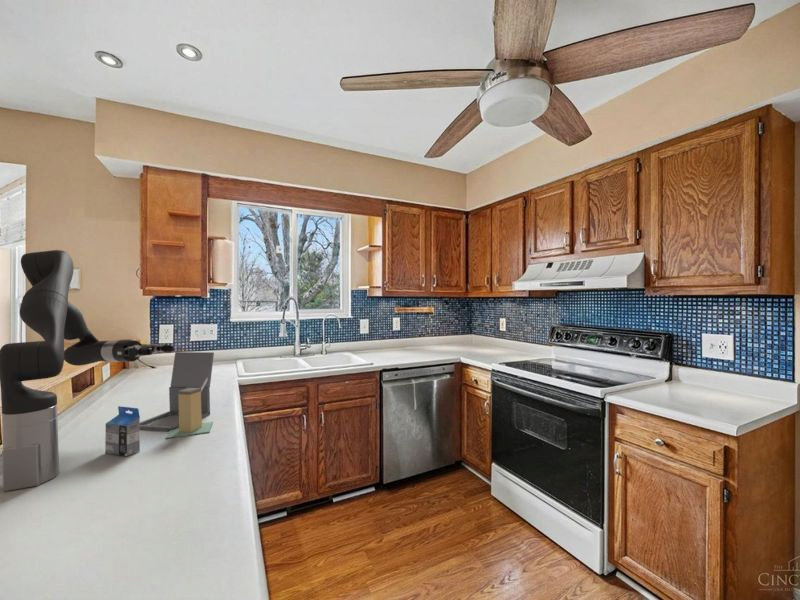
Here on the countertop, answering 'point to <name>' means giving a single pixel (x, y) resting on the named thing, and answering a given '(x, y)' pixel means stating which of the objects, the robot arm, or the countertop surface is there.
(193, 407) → the block
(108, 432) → the label tape box
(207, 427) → the mat
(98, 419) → the countertop surface
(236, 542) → the countertop surface
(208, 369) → the case
